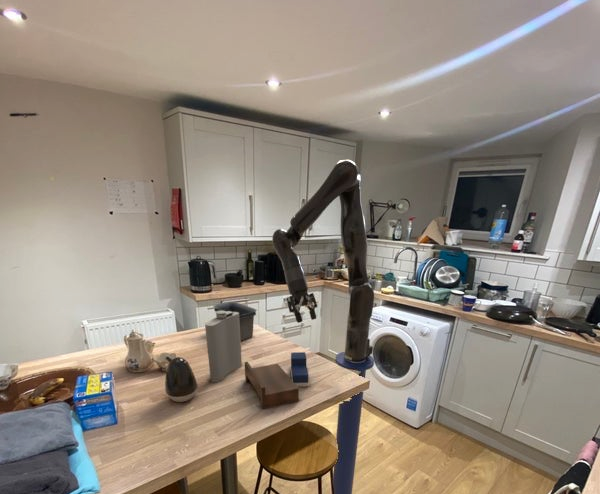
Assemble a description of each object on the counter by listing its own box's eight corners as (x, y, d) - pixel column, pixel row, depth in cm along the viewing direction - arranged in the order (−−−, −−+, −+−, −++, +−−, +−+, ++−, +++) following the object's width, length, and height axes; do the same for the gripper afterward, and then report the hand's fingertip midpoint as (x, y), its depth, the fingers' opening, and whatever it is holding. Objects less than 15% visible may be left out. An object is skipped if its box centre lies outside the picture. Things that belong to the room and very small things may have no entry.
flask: (234, 362, 141) (230, 304, 130) (243, 364, 139) (240, 306, 128) (207, 380, 126) (200, 317, 116) (217, 383, 124) (211, 319, 114)
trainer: (290, 369, 136) (290, 352, 133) (305, 368, 136) (305, 352, 133) (292, 386, 123) (292, 368, 120) (308, 386, 124) (309, 368, 120)
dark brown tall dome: (183, 387, 121) (178, 348, 115) (204, 395, 116) (200, 355, 110) (160, 400, 113) (152, 359, 107) (181, 409, 108) (175, 367, 102)
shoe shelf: (277, 374, 131) (277, 356, 128) (298, 400, 115) (298, 380, 111) (245, 381, 126) (244, 362, 123) (262, 409, 110) (261, 387, 106)
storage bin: (260, 336, 167) (259, 309, 161) (236, 345, 156) (234, 316, 150) (233, 326, 180) (232, 300, 174) (209, 334, 169) (206, 306, 163)
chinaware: (185, 371, 136) (184, 332, 130) (147, 383, 123) (143, 340, 117) (146, 353, 150) (144, 317, 145) (108, 362, 137) (104, 323, 132)
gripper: (290, 278, 123) (302, 321, 123) (314, 276, 133) (325, 316, 134) (276, 284, 128) (288, 325, 128) (301, 282, 138) (311, 320, 139)
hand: (307, 320), depth 131 cm, fingers open, 8 cm apart
